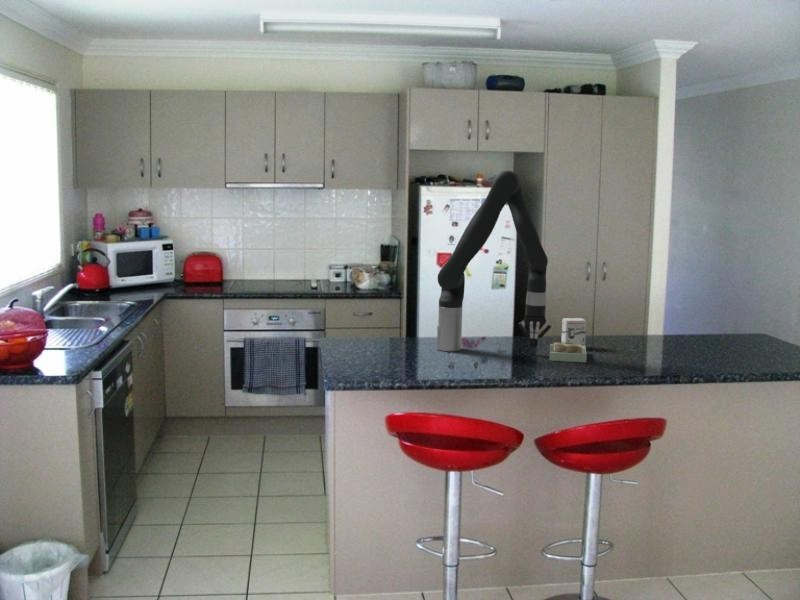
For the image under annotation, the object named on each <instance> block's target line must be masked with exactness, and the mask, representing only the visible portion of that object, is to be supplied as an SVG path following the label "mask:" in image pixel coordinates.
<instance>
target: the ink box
mask: <svg viewBox="0 0 800 600" xmlns="http://www.w3.org/2000/svg"><path fill="white" fill-rule="evenodd" d="M561 321H562V322H561V323H562V324H561V338H560V339H561V343H565V344H580V345H581V346H585V347H586V333H587V330H586V329H587V320H586V319H584V318H582V317H572V318H571V317H565V318H564V317H563V318H562V319H561Z"/></svg>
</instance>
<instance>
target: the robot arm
mask: <svg viewBox="0 0 800 600" xmlns="http://www.w3.org/2000/svg"><path fill="white" fill-rule="evenodd" d="M524 199H525V198H524V195H523V191H522V186H521V180H520V177H519V175H518V174H517V173H516V172H514V171H512V170H504V171H501V172H499V173H498V174H497V175H496V177H495V178H494V181H493V183H492V185H491V187H490V189H489V191H488V194H487V196H486V198H485V200H484V201H483V203H482V204H481V205H480V206H479V208H478V209H477V211H476V212H475V213H474V214H473V217H472V218H471V219H470V220H469V222H468V224H467V225H466V227H465V229H464V231H463V233H462V235H461V237H460V239H459V241H458V243H457V245H456V246H455V248H454V250H453V252H452V254H451V255H450V256H449V258H448V259H447V261H446V262H445V264H444V265H443V266H442V267H441V269H440V270H439V272H438V273H437V283H438V285H439V287H440V288H441V292H440V296H439V300H438V322H437V323H438V325H436V327H437V328H436V329H437V331H436V334H437V335H436V350H437V351H444V352H458V351H461V350H462V332H463V330H462V329H463V304H464V303H463V302H464V298H465V297H464V296H465V284H466V283H465V281H466V279H465V276H466V275H465V272H466V268H467V266H468V265H469V264H470V263H471V261H472V260H473V259H474V257H476V255H477V254H478V253H479V252H480V250H481V249H482V248H483V247H484V245H485V244H486V242H487V241H488V239H490V238H489V237H490V236H491V235H492V232H493V230H494V229H495V226H496V224H497V222H498V220H499V216H500V215H501V212H502V211H503V209H504V207H505V206H506V204H507V206H508V208H509V211H510V214H511V217H512V221H513V224H514V228H515V232H516V234H517V236H518V239H519V241H520V244H521V246H522V247H523V249H524V251H525V256H526V259H527V261H528V278H527V292H526V297H525V313H524V317H523V320H522V321H521V322H518V324H517V325H518V327H519V329H520V330H521V332H522V333H523V335H525V337H527V338H529V347H531V349H536V348H537V347H538V339H541V338H543V337H544V336H545V335H546V333H547V332H548V331H549V330H550V329H551V328H552V325H551V324H550V323H549V322H547V318H546V305H547V277H546V275H547V266H548V264H549V260H548V256H547V254H546V252H545V250H544V248H543V247H544V246H543V245H542V243H541V240H540V236H539V233H538V232H537V228H536V226H535V224H534V222H533V221H534V220H533V218H532V216H531V215H530V213H529V210H528V208H527V205H526V202H525V200H524ZM525 326H526V327H527V329H529V332H528V330H527V329H526V327H525ZM543 326H544V327H543ZM542 328H544V329H542ZM541 329H542V331H541V332H540V333H539V331H540V330H541ZM534 330H535V332H534Z"/></svg>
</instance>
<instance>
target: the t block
mask: <svg viewBox="0 0 800 600" xmlns="http://www.w3.org/2000/svg"><path fill="white" fill-rule="evenodd" d="M553 344H554V352H563V353H581V354H582V346H581V345H580V344H565V343H561V342H560V341H559V342H558V341H557V342H553Z"/></svg>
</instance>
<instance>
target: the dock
mask: <svg viewBox="0 0 800 600" xmlns="http://www.w3.org/2000/svg"><path fill="white" fill-rule="evenodd" d="M586 348H587V347H586V345H585V346H582V354H581V353H563V352H554V343H551V344H550V345H549V361H554V362H568V363H569V362H570V363H587V356H588V355H587V349H586Z"/></svg>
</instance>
